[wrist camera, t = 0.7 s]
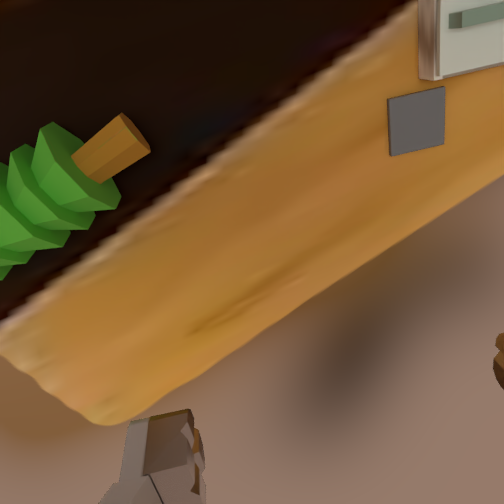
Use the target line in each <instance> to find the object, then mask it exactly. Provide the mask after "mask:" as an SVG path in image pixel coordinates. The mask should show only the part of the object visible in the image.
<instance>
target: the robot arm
mask: <svg viewBox="0 0 504 504" xmlns="http://www.w3.org/2000/svg"><path fill="white" fill-rule="evenodd" d="M495 346H496V347H497V348H498V349H499V350H500V351H499V353H498V354H497V355H496V356H495V358H494V360H493V370H494V373H495V377H496V379H497V381H498V383H499V384H500V386H501V387H502V388H503V389H504V333H501V334H499V335H498V337H497V338H496V344H495ZM204 469H205V457H204V450H203V444H202V440H201V436H200V433H199V430H198V429H196V428H194V417H193V414H192V412H191V409H185V410H180V411H175V412H170V413H166V414H161V415H156V416H152V417H149V418H144V419H139V420H134V421H131V422H130V424H129V426H128V430H127V436H126V442H125V448H124V454H123V460H122V466H121V472H120V478H119V482H118V483H114V484H113V485H112V486H111V487H110V488H109V490H108V491H107V492H106V494H105V495H104V497H103V498H102V499H101V501H100V502H99V503H98V504H206V485H205V482H204V480H203V477H202V472H203V471H204Z"/></svg>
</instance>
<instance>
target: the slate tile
mask: <svg viewBox="0 0 504 504" xmlns="http://www.w3.org/2000/svg"><path fill="white" fill-rule="evenodd" d="M387 107H388V131H389V154H390V156H396V155H400V154H404V153H408V152H413V151H417V150H421V149H425V148H430V147H434V146H438V145H442V144H444V130H445V87H444V86H441V87H437V88H433V89H428V90H424V91H420V92H415V93H411V94H407V95H402V96H398V97H394V98H390V99H387Z"/></svg>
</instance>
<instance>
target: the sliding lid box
mask: <svg viewBox="0 0 504 504" xmlns="http://www.w3.org/2000/svg"><path fill="white" fill-rule="evenodd" d="M418 48H419V79H425V80H432V81H435V80H440V79H444V78H448V77H453V76H457V75H461V74H466V73H470V72H474V71H479V70H483V69H487V68H492V67H496V66H500V65H504V62H500V63H496V64H491V65H487V66H483V67H478V68H474V69H470V70H465V71H461V72H457V73H452V74H448V75H444V76H436V52H437V0H418Z"/></svg>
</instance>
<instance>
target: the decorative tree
mask: <svg viewBox="0 0 504 504" xmlns="http://www.w3.org/2000/svg"><path fill="white" fill-rule="evenodd" d="M150 152H151V151H150V146H149V144H148V143H147V141H146V140H145V139H144V137H143V136H142V134H141V133H140V131H139V130H138V129H137V128H136V126H135V125H134V124H133V123H132V121H131V120H130V119H129V118H128V117H126V116H125V115H124V114H123V113H120V114H119V115H118V116H117V117H116V118H114V119H113V120H112V121H111V122H110V123H109V124H107V125H106V126H105V127H104V128H103V129H102V130H100V131H99V132H98V133H97V134H96V135H95V136H93V137H92V138H91V139H90V140H89V141H88V142H86V143H85V144H84V143H83V142H82V140H80V139H79V138H77V137H76V136H74V135H73V134H71V133H70V132H68V131H66V130H65V129H63V128H62V127H60V126H59V125H57V124H56V123H54V122H52V123H50V124H48V125H46V126H44V127H42V128H40V131H39V135H38V139H37V143H36V147H35V148H33V147H31V146H29V145H27V144H24V145H23V146H21V147H19V148H18V149H16V150H14V151H12V152H11V153H10V161H9V166H7V165H5V164H3V163H1V162H0V280H3V278H4V277H5V276H6V275H7V273H8V272H9V271H10V269H11V268H12V267H13V266H12V265H16V264H25V263H27V261H28V260H29V259H30V257H31V256H32V255H33V254H34V252H35V251H36V250H41V249H49V248H58V247H63V246H64V244H65V242H66V241H67V239H68V237H69V235H70V233H71V232H70V230H84V229H89V227H90V225H91V223H92V222H93V220H94V218H95V216H96V215H95V213H94V211H99V210H110V209H116V208H117V205H118V203H119V201H120V199H121V194H120V192H119V191H118V189H117V187H116V185H115V183H114V181H113V179H112V176H114V175H115V174H117V173H118V172H120V171H122V170H123V169H125V168H126V167H128V166H130V165H131V164H133V163H134V162H136V161H137V160H139V159H141V158H142V157H144V156H145V155H147V154H149V153H150Z"/></svg>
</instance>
